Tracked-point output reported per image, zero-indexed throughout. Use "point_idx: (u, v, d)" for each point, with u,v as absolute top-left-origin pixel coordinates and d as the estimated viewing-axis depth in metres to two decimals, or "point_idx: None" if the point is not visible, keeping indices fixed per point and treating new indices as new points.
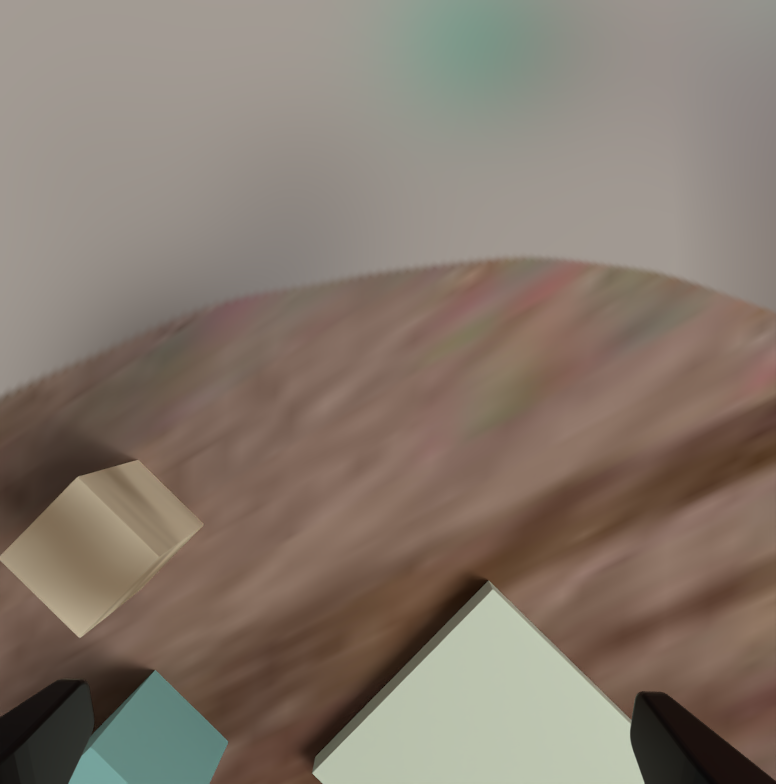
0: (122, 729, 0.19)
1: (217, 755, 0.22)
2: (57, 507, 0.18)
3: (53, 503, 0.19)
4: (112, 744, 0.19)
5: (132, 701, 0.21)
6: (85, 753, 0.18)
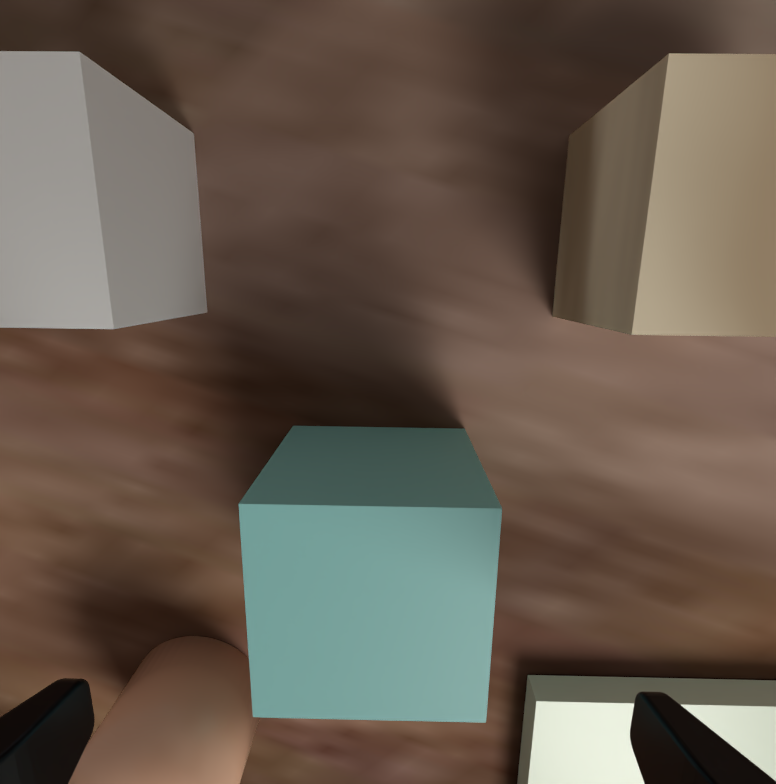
0: None
1: None
2: None
3: None
4: None
5: (477, 460, 0.12)
6: (481, 508, 0.09)
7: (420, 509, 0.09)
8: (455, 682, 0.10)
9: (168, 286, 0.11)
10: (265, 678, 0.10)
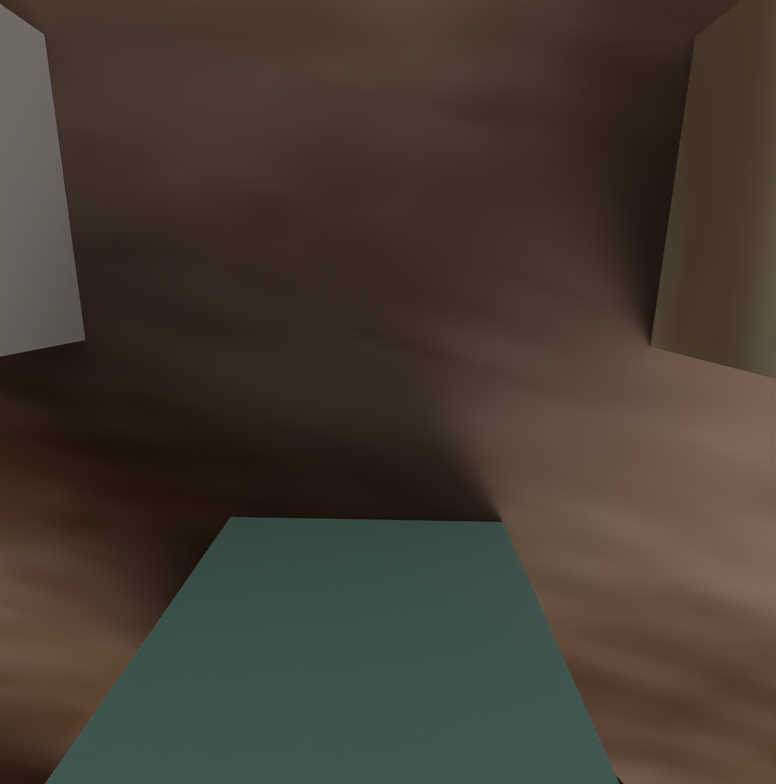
0: None
1: None
2: None
3: None
4: None
5: (538, 611, 0.06)
6: None
7: None
8: None
9: None
10: None
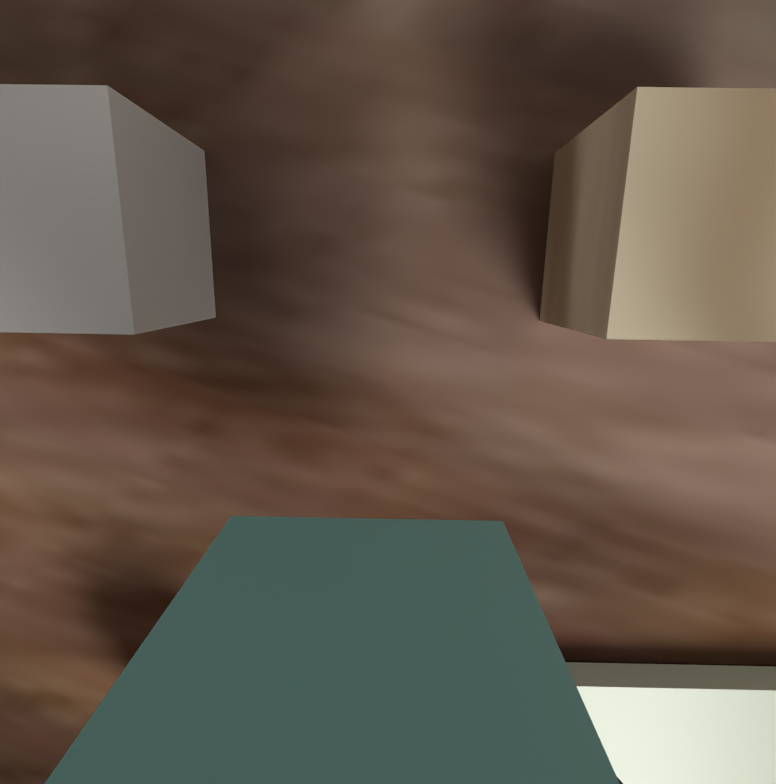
0: None
1: None
2: None
3: None
4: None
5: (538, 609, 0.06)
6: None
7: None
8: None
9: (182, 294, 0.12)
10: None
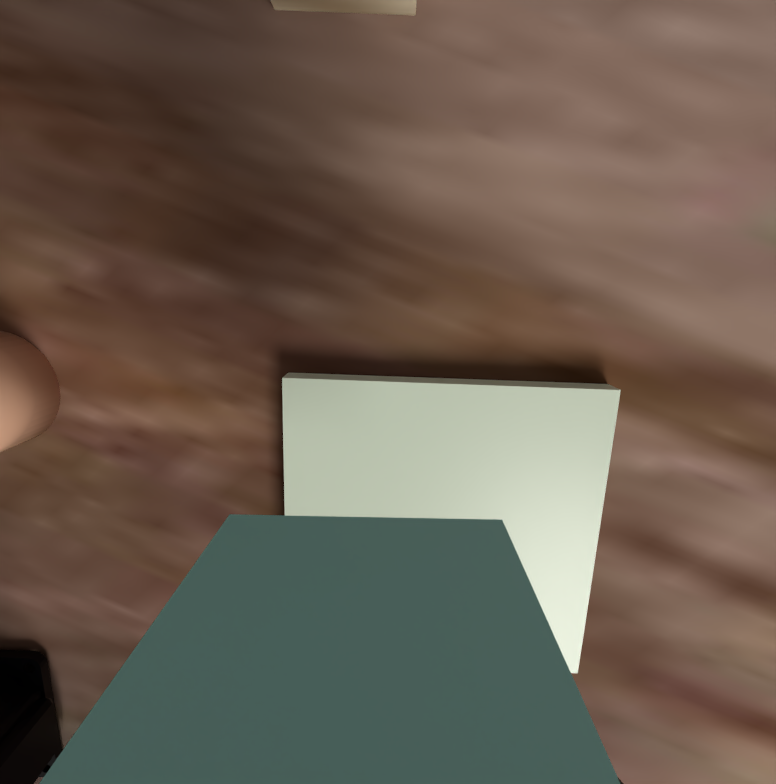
0: None
1: None
2: None
3: None
4: None
5: (537, 608, 0.06)
6: None
7: None
8: None
9: None
10: None
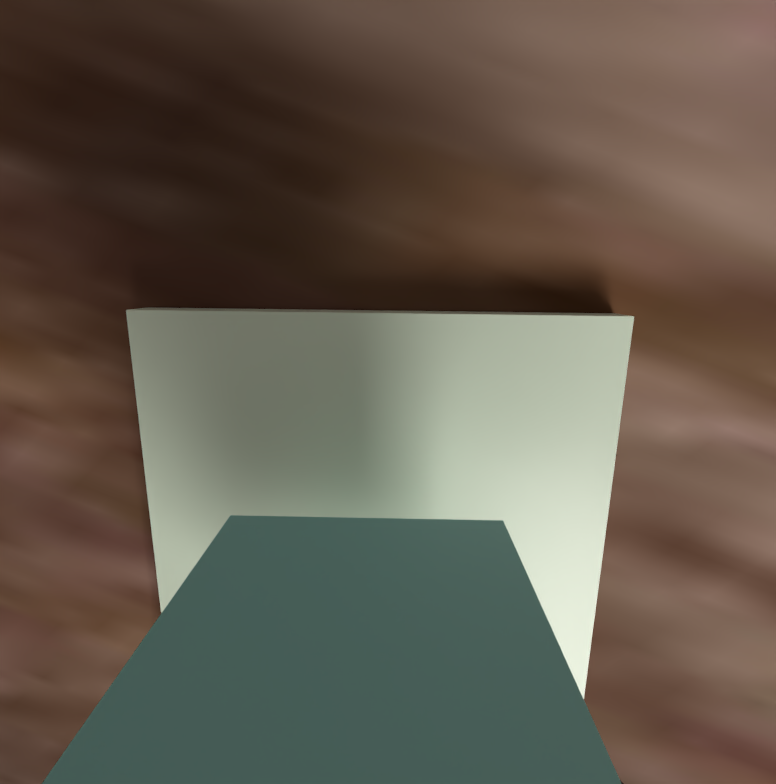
0: None
1: None
2: None
3: None
4: None
5: (539, 609, 0.06)
6: None
7: None
8: None
9: None
10: None
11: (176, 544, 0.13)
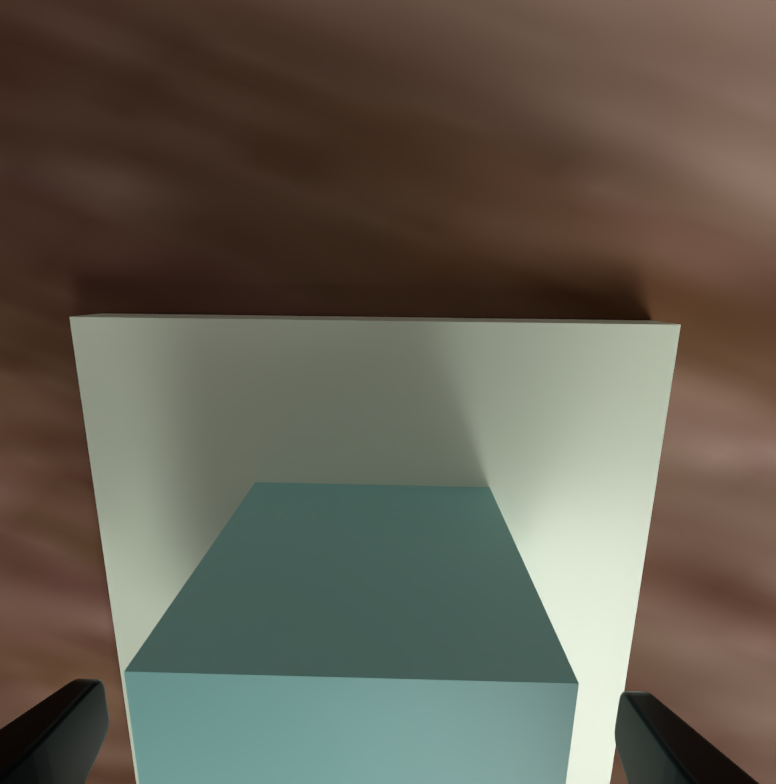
0: None
1: None
2: None
3: None
4: None
5: (514, 551, 0.08)
6: (543, 682, 0.05)
7: (437, 683, 0.05)
8: None
9: None
10: None
11: (136, 591, 0.11)
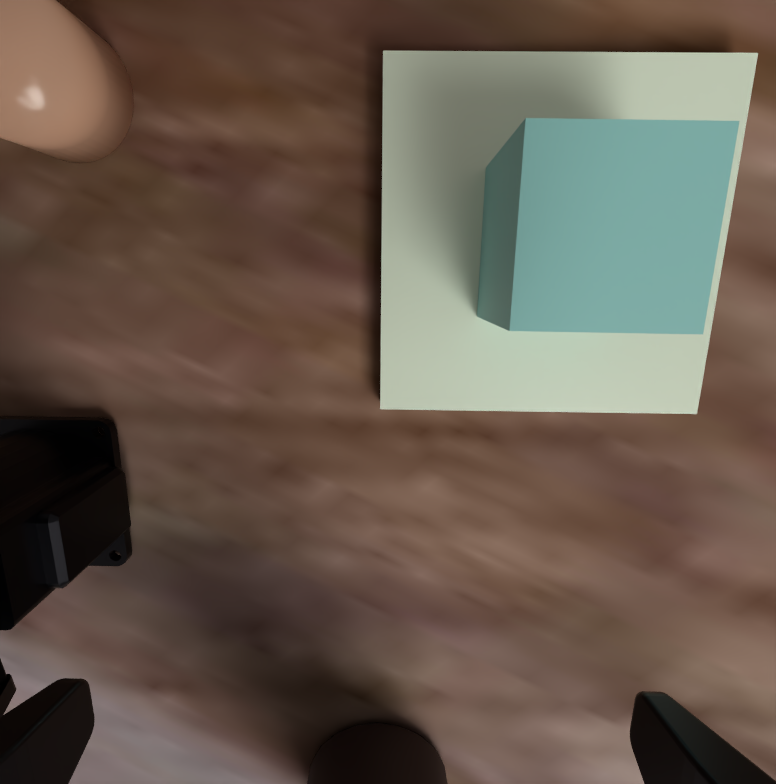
0: None
1: None
2: None
3: None
4: None
5: None
6: (722, 123, 0.11)
7: (673, 122, 0.11)
8: (682, 294, 0.12)
9: None
10: (525, 291, 0.12)
11: (399, 251, 0.17)
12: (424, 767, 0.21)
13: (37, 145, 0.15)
